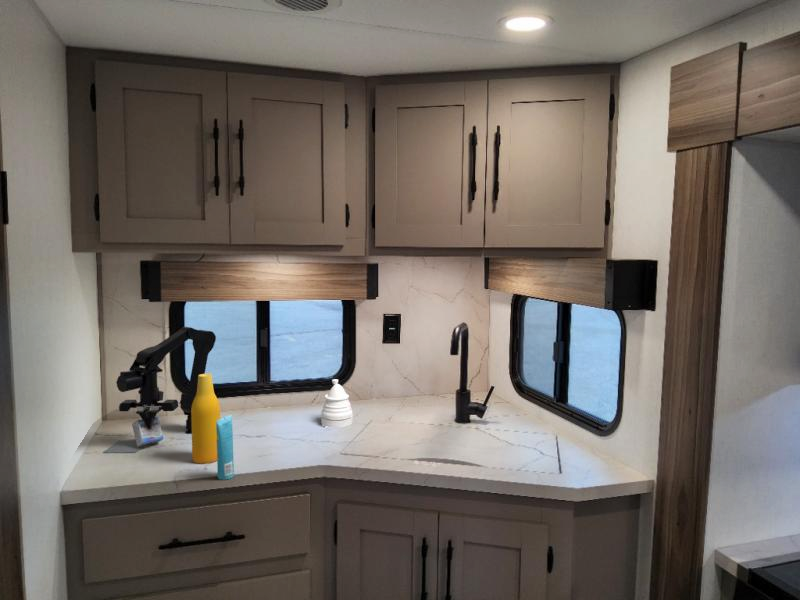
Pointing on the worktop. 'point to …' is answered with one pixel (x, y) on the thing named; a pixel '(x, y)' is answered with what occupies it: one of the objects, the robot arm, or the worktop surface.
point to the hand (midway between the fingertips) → (149, 428)
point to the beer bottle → (204, 421)
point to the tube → (225, 448)
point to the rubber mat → (123, 447)
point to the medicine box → (147, 432)
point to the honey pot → (337, 408)
